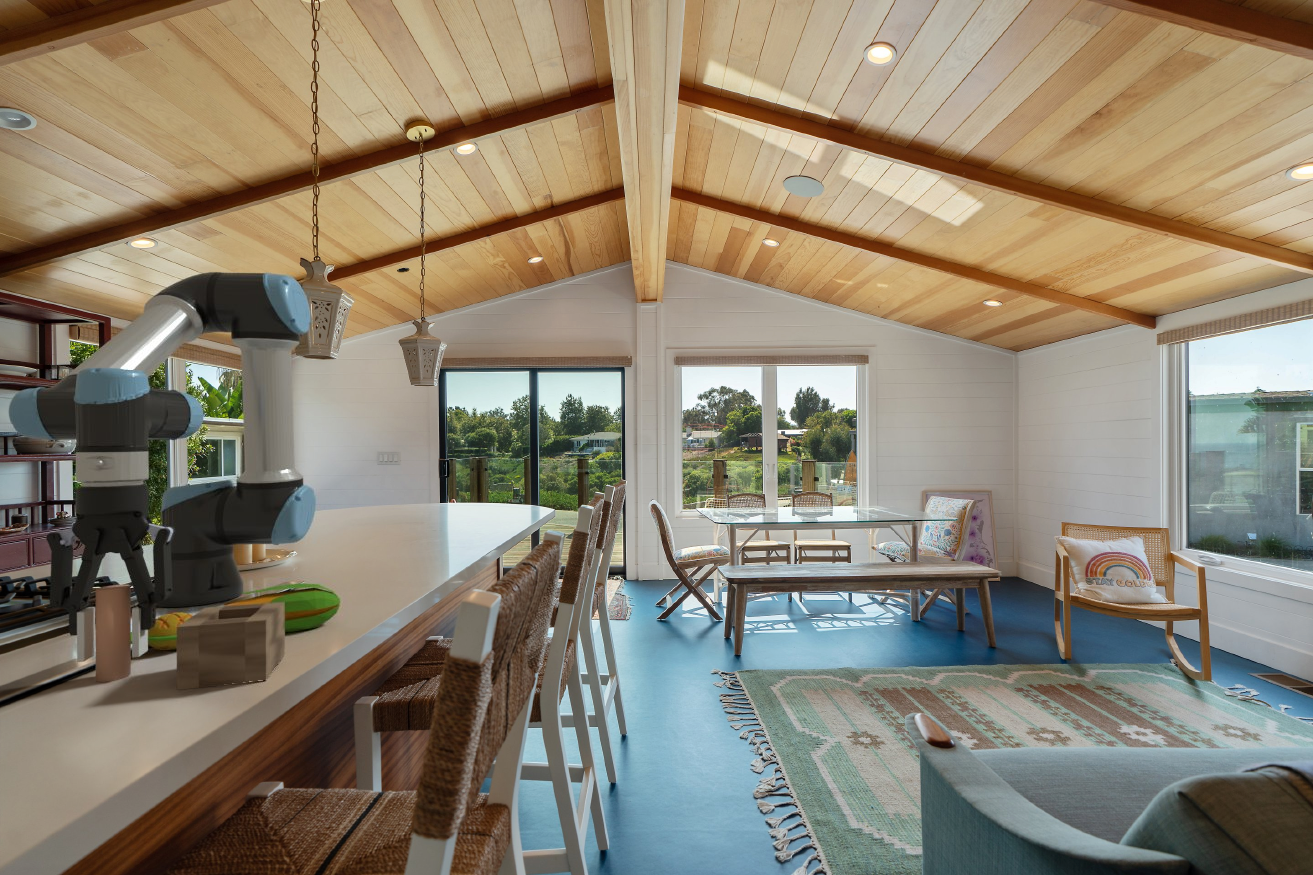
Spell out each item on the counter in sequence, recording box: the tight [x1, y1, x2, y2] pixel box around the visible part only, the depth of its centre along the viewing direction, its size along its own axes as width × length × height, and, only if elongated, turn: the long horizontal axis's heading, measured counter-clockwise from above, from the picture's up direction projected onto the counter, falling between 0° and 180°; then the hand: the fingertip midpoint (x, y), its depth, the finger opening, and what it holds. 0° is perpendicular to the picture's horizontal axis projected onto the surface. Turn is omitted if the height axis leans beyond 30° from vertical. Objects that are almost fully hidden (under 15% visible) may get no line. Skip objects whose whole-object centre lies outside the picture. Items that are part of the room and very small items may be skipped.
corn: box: [224, 582, 341, 634], centre depth 106 cm, size 7×8×20 cm
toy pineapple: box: [131, 612, 194, 651], centre depth 97 cm, size 7×10×5 cm
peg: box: [95, 584, 132, 683], centre depth 86 cm, size 4×4×12 cm
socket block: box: [176, 602, 286, 691], centre depth 88 cm, size 10×10×8 cm
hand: (113, 655), depth 86 cm, fingers open, 5 cm apart
